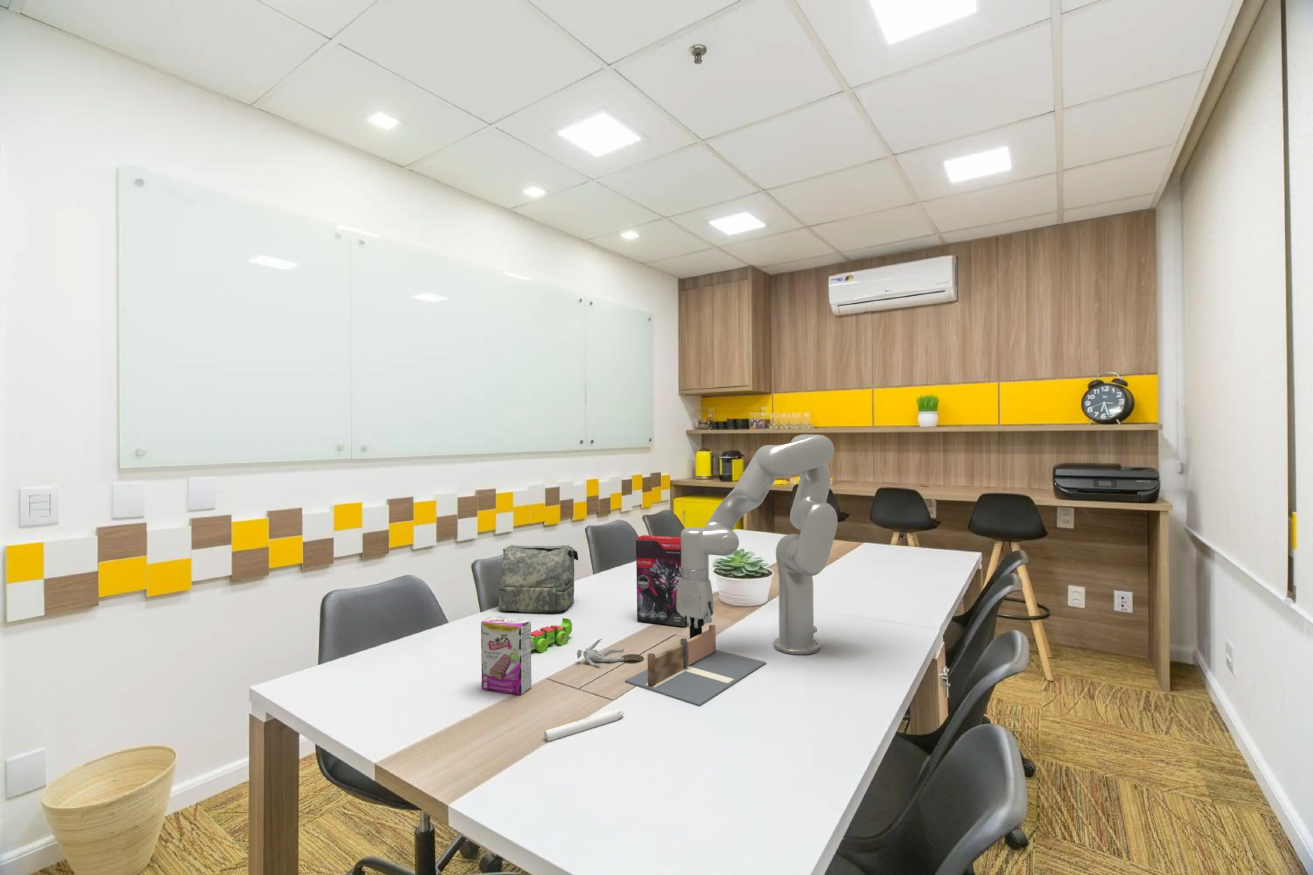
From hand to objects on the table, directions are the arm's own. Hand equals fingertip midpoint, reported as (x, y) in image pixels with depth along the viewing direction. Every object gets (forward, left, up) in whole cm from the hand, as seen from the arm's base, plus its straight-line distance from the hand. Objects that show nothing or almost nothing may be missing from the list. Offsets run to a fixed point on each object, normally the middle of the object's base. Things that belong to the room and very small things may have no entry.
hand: (695, 640), depth 165 cm
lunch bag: (-6, -71, -4) cm, 71 cm away
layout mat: (+10, +7, -4) cm, 13 cm away
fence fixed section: (+17, +3, -4) cm, 17 cm away
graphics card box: (-18, -25, -4) cm, 31 cm away
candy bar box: (+45, -24, -4) cm, 51 cm away
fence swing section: (+2, +3, -3) cm, 5 cm away
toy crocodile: (+20, -39, -4) cm, 44 cm away
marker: (+47, +5, -5) cm, 48 cm away
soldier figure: (+19, -18, -4) cm, 26 cm away
